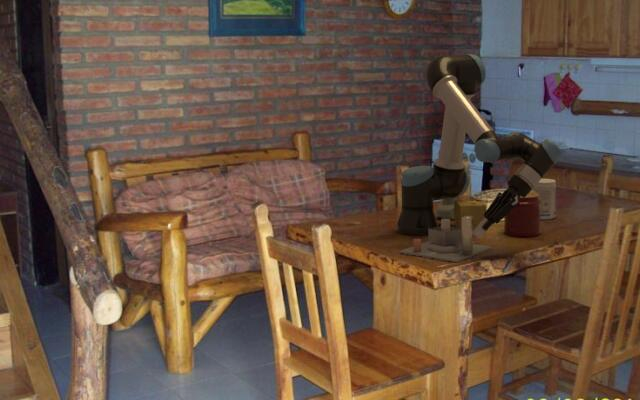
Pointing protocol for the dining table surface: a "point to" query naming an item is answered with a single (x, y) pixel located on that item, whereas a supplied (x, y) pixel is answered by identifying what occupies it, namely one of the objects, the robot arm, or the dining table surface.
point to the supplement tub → (546, 197)
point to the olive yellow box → (469, 212)
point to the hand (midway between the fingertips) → (475, 235)
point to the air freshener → (446, 209)
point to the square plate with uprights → (442, 248)
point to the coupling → (454, 235)
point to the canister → (524, 217)
